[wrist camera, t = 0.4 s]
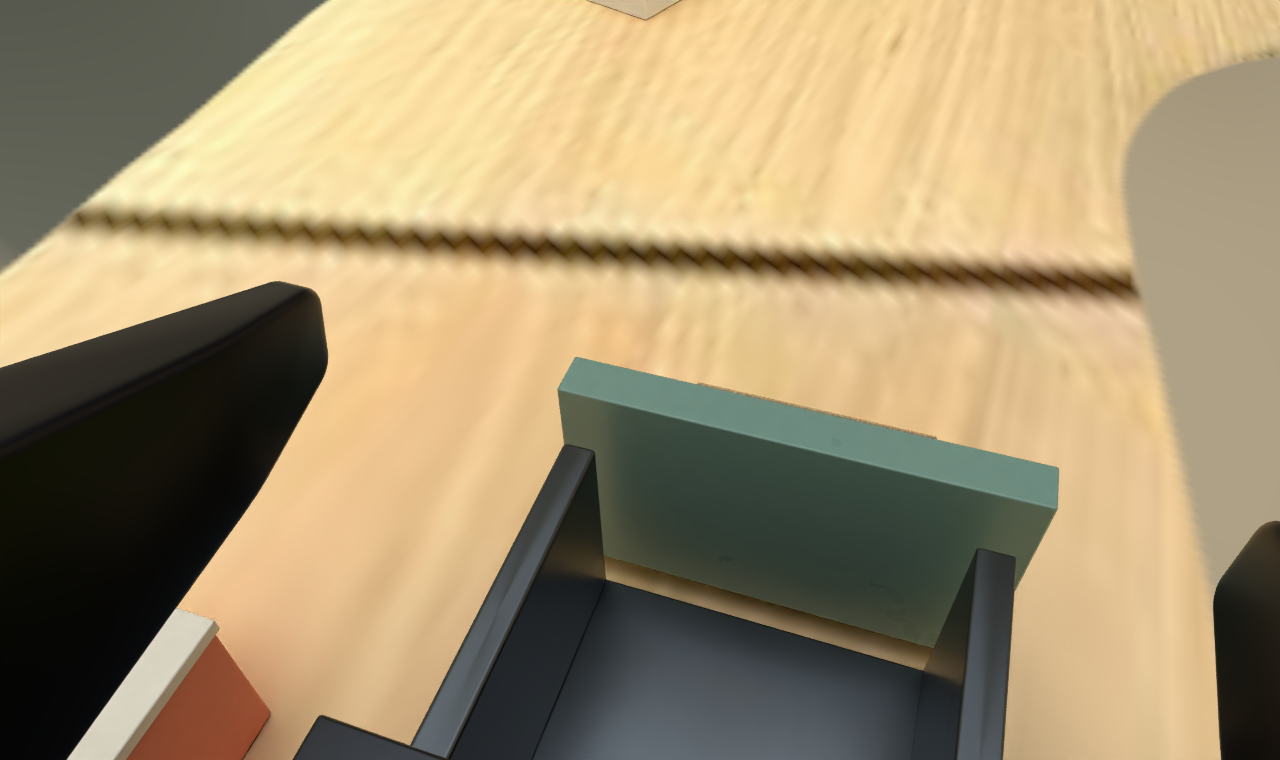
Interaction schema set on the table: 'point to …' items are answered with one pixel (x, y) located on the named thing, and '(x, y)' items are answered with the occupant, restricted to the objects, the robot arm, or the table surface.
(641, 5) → the adhesive note
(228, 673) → the cream-topped orange box
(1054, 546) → the table surface
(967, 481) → the drawer
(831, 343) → the table surface
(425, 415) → the table surface
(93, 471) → the robot arm
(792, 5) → the table surface
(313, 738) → the cabinet
